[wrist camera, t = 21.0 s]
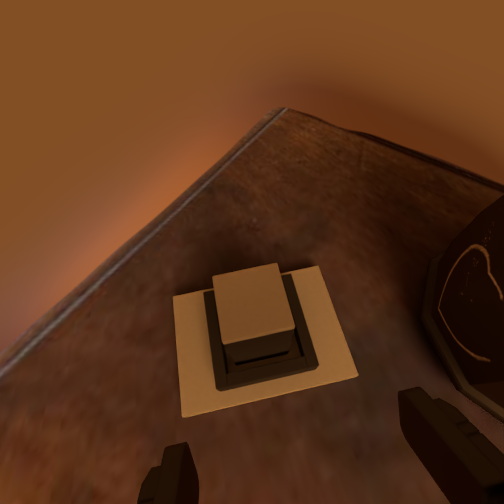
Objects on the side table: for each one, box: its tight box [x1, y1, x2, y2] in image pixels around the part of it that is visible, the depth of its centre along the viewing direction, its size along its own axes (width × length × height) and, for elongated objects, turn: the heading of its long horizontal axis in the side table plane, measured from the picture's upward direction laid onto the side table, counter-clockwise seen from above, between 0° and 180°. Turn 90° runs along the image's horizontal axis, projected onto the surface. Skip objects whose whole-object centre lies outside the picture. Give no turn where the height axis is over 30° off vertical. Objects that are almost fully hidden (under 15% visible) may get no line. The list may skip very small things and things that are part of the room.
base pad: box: [173, 266, 358, 417], centre depth 25 cm, size 14×10×3 cm
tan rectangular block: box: [212, 263, 295, 366], centre depth 22 cm, size 4×4×8 cm
